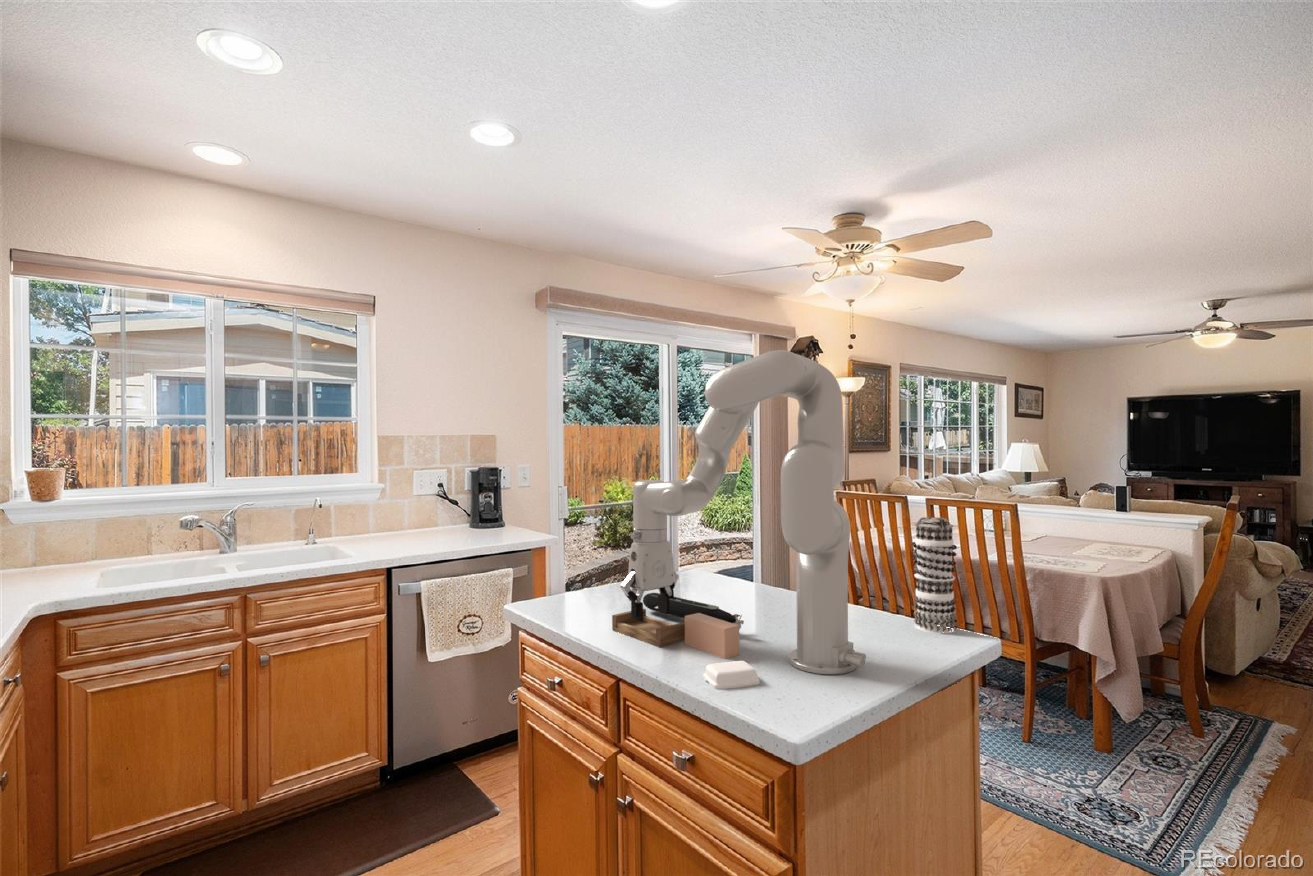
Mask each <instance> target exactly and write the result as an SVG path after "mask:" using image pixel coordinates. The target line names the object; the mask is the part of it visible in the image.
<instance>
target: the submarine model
mask: <svg viewBox="0 0 1313 876" xmlns="http://www.w3.org/2000/svg"><path fill="white" fill-rule="evenodd" d="M674 592H675V591H674V589H673V590H672V595H671V596H669V597H670V613H669V614H668V615H669V616H674V617H678V618H681V619H685V616H687V615H691V614H696V613H701V614H704V615H707V616H711V617H714V618H717V619H720V620H724V621H727V622H730V623H733V624H736V625H739V630H741V628H742V625H744V623H745V620H741V619H742V614H737V613H736V614H731V613H729V612H728V611H726V610H723V609H720V606H719V605H718V606H717V605H714V604H709V603H704V602H700V601H695V600H692V599H686V598H682V597H677V596H674V595H675V594H674ZM658 594H661V593H660V592H649V593H646V594H645V595H643V597H642V603H643V606H645V608H647V609H649V610H650V611H654V612H658ZM658 613H659V612H658Z"/></svg>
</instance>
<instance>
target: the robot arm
mask: <svg viewBox="0 0 1313 876" xmlns="http://www.w3.org/2000/svg"><path fill="white" fill-rule="evenodd" d="M842 394H843V393H842V391H841V387H840V384H839V382H838V380H837V378H836V377H835V375H834V374H833V373H832V372H831V371H830V369H828V368H827V367H825V366H824V365H822V364H820V363H819V362H817V361H815V360H812V359H810V358H808V357H805V356H803V355H801V354H798V353H794V352H792V351H789V350H784V349H777V350H769V351H767V352H764V353H762V354H758V355H757V356H754V357H751V358H748V359H746V360H742V361H740V362H737V363H735V364H731V365H730V366H726V367H723V368H722V369H720V370H718V371H716V372H714V373H713V374H712V375H711V376H710V378H709V379H708V380H707V382H706V385H705V388H704V396H705V397H704V398H705V400H706V403H707V404H708V405H709V406H708V408H707V410H706V412H705V414H704V415H703V417H702V419H701V420H700V423H699V424H698V425H697V428H696V429H695V431H694V437H695V439H696V442H697V444H698V456H697V459H696V461H695V464H694V465H693V468H692V470H691V471H690V472H689V474H688V476H687V478H686V479H685V478H684V479H678V480H670V481H664V480H659V479H641V480H637V481H635V482H634V483H633V488H632V489H633V491H632V496H633V497H632V499H633V500H632V511H633V513H632V515H633V517H632V518H633V521H632V522H633V524H632V525H633V530H632V531H633V532H632V533H630V539H631V540H633V542H632V543H631V545H630V552H629V557H628V559H629V560H628V573H627V576H626V578H625V579H624V580H623V581H622V583H621V584H620V587H619V588H620V589H621V590H622V592H623V593H624V595H625V596H626V597H627V599H628V601H630V611H631V618H632V619H634V620H637V621H642V620H643V609H644V603H643V601H642V600H643V597H644V594H645V593H644V592H648V591H654V590H658V591H659V593H661V594H658V613H660V614H664V615H669V613H670V597H669V596H671V595H672V590H673V591H674V589H675V587H676V584H677V581H678V580H679V578H680V577H679V574H678V573H677V572H676V571H675V566H674V556H673V550H672V544H671V541H669V540H668V516H669V517H670V516H671V517H681V516H685V515H688V514H694V513H698V512H700V511H702V510H704V509H705V507H706V506H708V505H709V503H710V502H711V500H713V497H714V495H715V494H716V492H717V490H718V489H719V487H720V486H721V484H722V482H723V480H724V477H725V475H726V471H727V468H728V465H729V461H730V453H731V452H732V450H733V448H734V446H735V444H736V443H737V441H738V439H739V437H740V435H741V434H742V433H743V430H744V429H745V427H746V425H747V424H748V422H749V420H750V419H751V417H752V415H754V414H753V413H754V412H755V410H756V408H757V407H758V405H759V403H760V402H763V401H766V400H770V399H772V398H776V397H779V396H780V397H785V398H791V399H794V400H796V401H797V402H798V405H799V406H798V407H799V408H798V413H797V414H798V415H797V444H795V445H794V446H792V447H791V448H790V449H789V450H788V451H787V452H786V454H785V455H784V457H783V460H782V464H781V469H780V522H781V523H780V525H781V531H782V535H783V538H784V540H785V542H786V543H787V545H788V546H789V548H791V549H792V550H793V551H795V552H796V553H797V555H796V557H797V559H796V580H795V581H796V649H794V650H792V651H791V652H790V653H789V654H788V663H789V664H790V665H791V666H792V667H795V669H798V670H801V671H804V672H807V673H812V674H818V675H827V676H828V675H830V676H831V675H842V674H843V675H844V674H848V673H851V672H852V671H855V670H856V669H857V667H858V668H864V667H865V665H866V663H867V662H866V659H867V655H866V653H864V652H859V651H855V649H854V642H852V641H850V640H849V622H848V621H849V606H848V605H849V602H848V601H849V599H848V598H849V597H848V596H849V595H848V594H849V593H848V591H849V589H848V587H849V586H848V585H849V573H848V572H849V550H850V538H851V536H850V535H851V523H850V518H849V515H848V513H847V511H846V510H845V508H844V506H842V504H840V503H839V502H838V501H836V500H835V499H834V498H835V497H834V495H835V494H834V493H835V492H834V490H835V489H834V488H836V487H837V486H838V485H839V484H840V483H841V482H842V480H843V478H844V476H845V470H846V469H845V467H846V465H845V445H844V444H845V440H844V438H845V436H844V416H843V415H844V414H843V413H844V411H843V410H844V409H843V408H844V405H843V396H842Z"/></svg>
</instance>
